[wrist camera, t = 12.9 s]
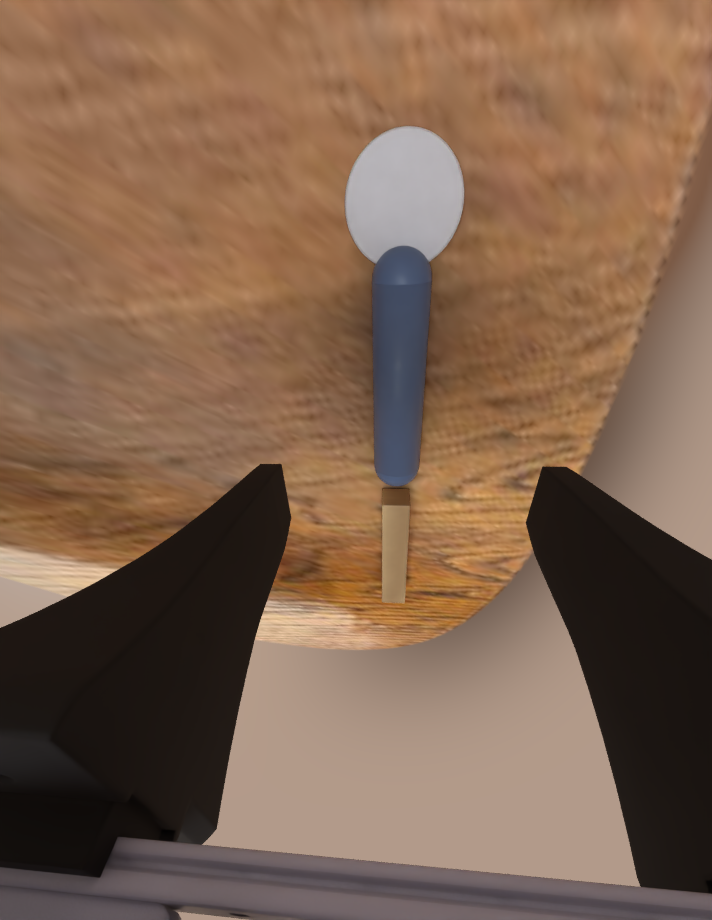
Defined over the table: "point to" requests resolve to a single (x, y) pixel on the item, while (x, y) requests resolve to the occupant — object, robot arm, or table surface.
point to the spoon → (402, 275)
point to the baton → (394, 543)
